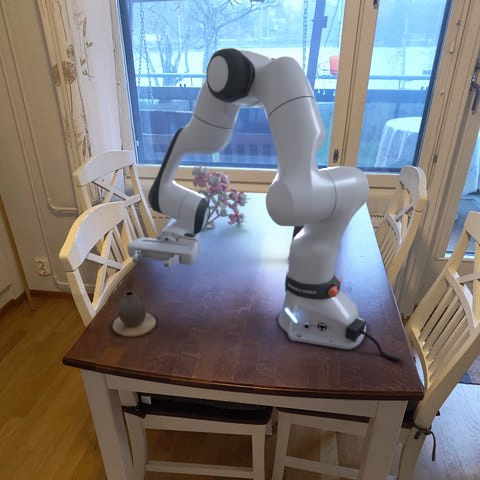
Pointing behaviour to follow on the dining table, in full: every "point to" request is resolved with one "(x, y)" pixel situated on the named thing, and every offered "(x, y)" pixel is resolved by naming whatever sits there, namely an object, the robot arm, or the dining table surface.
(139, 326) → the cork trivet
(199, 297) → the dining table surface
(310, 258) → the robot arm
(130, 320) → the vase
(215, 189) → the flower
